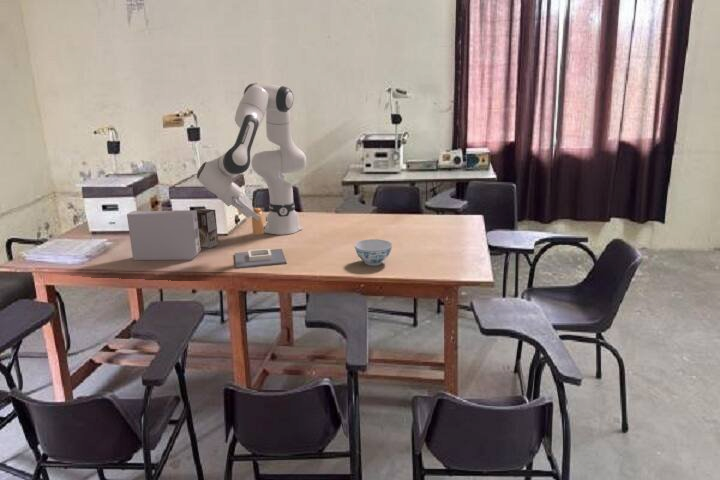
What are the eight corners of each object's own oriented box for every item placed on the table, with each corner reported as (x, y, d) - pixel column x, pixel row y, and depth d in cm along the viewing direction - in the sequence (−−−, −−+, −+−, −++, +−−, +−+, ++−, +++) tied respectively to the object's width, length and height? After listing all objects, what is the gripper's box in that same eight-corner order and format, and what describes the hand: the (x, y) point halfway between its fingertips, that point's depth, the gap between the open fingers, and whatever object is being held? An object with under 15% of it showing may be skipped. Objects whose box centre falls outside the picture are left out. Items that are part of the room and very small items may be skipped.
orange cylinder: (252, 232, 243) (250, 208, 240) (263, 231, 244) (261, 207, 241) (253, 234, 239) (251, 210, 236) (264, 234, 240) (262, 209, 237)
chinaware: (357, 256, 245) (356, 239, 243) (393, 257, 244) (393, 239, 242) (352, 268, 231) (352, 250, 229) (391, 269, 229) (391, 250, 227)
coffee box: (219, 244, 266) (215, 209, 262) (210, 248, 261) (206, 212, 256) (203, 242, 270) (199, 207, 265) (193, 246, 264) (190, 211, 260)
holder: (234, 254, 251) (234, 248, 250) (281, 250, 255) (281, 244, 255) (236, 268, 234) (235, 261, 233) (286, 263, 239) (286, 257, 238)
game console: (138, 256, 252) (132, 210, 246) (201, 255, 251) (196, 210, 246) (132, 260, 247) (126, 214, 241) (197, 259, 246) (192, 213, 240)
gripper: (238, 194, 225) (266, 217, 230) (236, 184, 244) (262, 206, 249) (227, 206, 225) (255, 229, 230) (226, 196, 244) (252, 217, 249)
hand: (258, 217), depth 240 cm, fingers closed on orange cylinder, 4 cm apart
